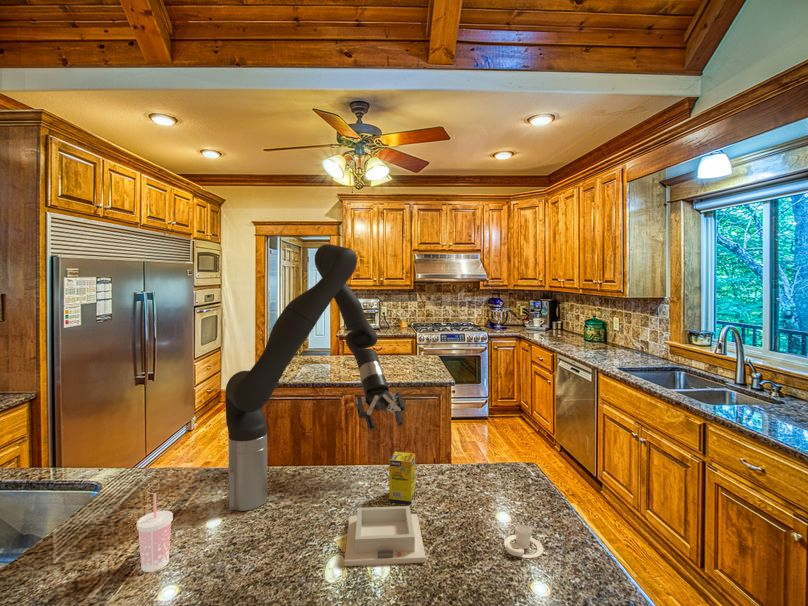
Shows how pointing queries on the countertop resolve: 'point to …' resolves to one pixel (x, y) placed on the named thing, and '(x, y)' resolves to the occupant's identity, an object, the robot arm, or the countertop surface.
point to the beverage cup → (154, 539)
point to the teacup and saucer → (522, 542)
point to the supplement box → (402, 477)
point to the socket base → (384, 537)
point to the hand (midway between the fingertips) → (386, 427)
